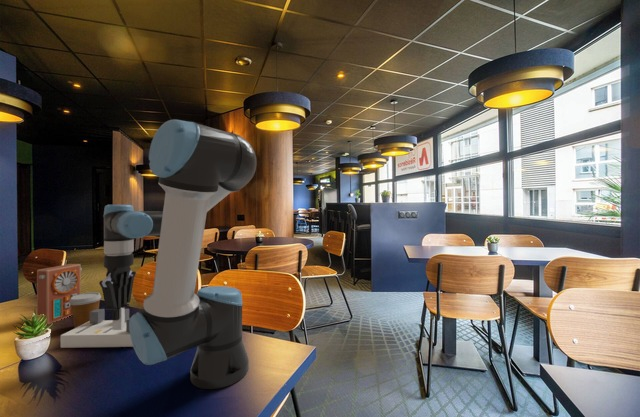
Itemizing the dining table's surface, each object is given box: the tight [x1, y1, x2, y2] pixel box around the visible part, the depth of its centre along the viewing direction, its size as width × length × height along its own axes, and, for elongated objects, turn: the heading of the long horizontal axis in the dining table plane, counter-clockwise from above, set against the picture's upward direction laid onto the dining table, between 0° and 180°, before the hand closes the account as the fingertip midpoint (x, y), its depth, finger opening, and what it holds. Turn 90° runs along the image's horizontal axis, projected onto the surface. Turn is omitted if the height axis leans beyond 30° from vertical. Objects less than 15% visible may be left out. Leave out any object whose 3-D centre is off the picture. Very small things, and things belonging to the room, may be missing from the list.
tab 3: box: [126, 316, 132, 332], centre depth 92 cm, size 3×3×4 cm
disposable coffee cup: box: [69, 291, 103, 329], centre depth 105 cm, size 10×10×12 cm
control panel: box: [36, 263, 83, 325], centre depth 114 cm, size 21×7×15 cm
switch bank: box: [60, 319, 134, 349], centre depth 95 cm, size 12×26×4 cm, turn 91°
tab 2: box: [125, 308, 130, 322], centre depth 99 cm, size 3×3×4 cm
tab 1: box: [90, 308, 106, 323], centre depth 99 cm, size 3×3×4 cm
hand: (118, 328), depth 85 cm, fingers closed
